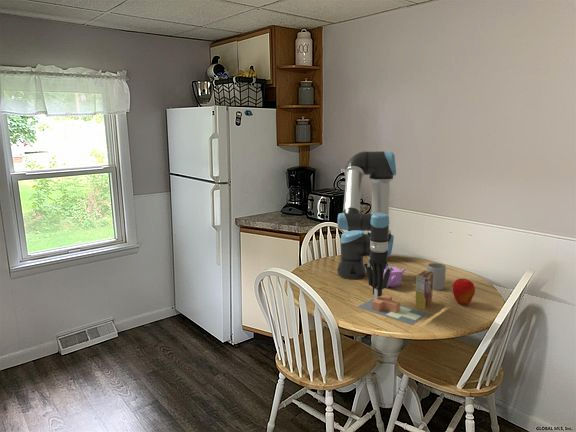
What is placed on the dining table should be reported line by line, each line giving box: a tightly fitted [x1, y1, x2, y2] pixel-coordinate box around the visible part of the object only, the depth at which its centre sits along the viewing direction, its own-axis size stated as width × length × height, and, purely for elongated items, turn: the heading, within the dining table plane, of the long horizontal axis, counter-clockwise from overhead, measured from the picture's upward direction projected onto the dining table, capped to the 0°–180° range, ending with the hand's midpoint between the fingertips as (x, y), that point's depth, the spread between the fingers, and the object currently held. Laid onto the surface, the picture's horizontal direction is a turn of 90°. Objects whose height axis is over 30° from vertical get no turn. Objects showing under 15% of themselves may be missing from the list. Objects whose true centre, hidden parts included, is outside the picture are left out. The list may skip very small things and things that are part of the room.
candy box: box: [415, 269, 434, 310], centre depth 193 cm, size 9×4×15 cm, turn 140°
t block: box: [372, 294, 401, 313], centre depth 190 cm, size 10×10×4 cm
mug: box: [426, 262, 447, 291], centre depth 218 cm, size 12×8×11 cm
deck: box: [357, 297, 430, 326], centre depth 189 cm, size 26×15×1 cm, turn 47°
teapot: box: [383, 265, 408, 289], centre depth 218 cm, size 18×13×10 cm
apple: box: [452, 278, 476, 306], centre depth 197 cm, size 9×9×12 cm
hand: (376, 302), depth 194 cm, fingers closed
